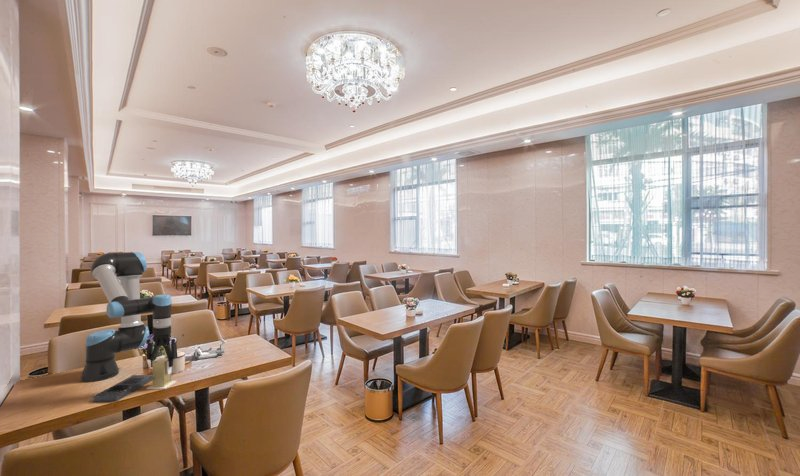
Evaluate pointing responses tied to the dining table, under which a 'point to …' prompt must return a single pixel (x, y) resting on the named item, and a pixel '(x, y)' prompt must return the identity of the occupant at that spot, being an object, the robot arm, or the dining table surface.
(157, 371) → the brass block
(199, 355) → the silver irregular piece
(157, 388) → the mat
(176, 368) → the teacup with lid
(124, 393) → the dark grey tray
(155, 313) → the robot arm
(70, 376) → the dining table surface
